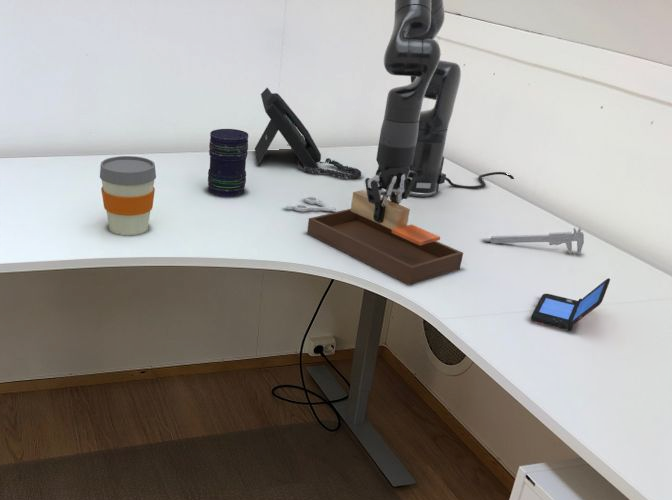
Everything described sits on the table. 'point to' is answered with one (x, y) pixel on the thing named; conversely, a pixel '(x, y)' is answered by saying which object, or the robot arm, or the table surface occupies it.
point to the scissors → (306, 208)
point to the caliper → (544, 239)
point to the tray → (384, 247)
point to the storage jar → (227, 162)
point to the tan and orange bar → (392, 219)
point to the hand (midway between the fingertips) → (384, 219)
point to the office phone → (294, 137)
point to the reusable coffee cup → (128, 193)
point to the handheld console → (567, 308)
